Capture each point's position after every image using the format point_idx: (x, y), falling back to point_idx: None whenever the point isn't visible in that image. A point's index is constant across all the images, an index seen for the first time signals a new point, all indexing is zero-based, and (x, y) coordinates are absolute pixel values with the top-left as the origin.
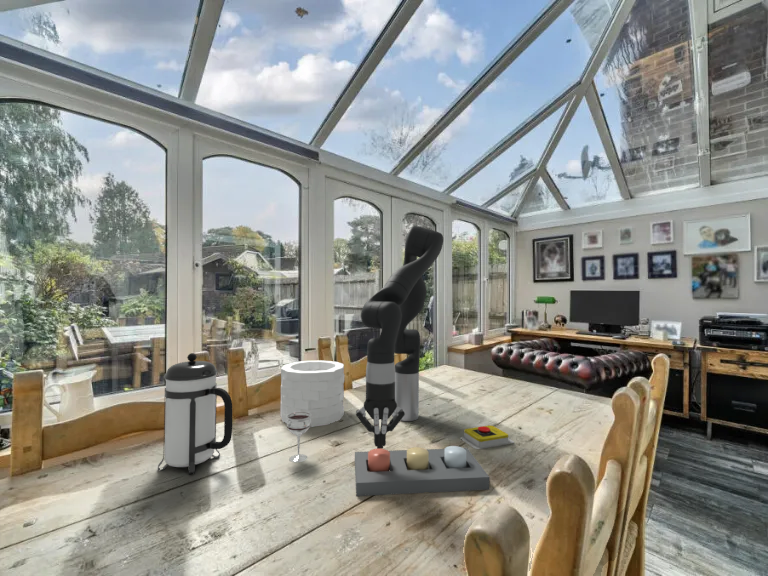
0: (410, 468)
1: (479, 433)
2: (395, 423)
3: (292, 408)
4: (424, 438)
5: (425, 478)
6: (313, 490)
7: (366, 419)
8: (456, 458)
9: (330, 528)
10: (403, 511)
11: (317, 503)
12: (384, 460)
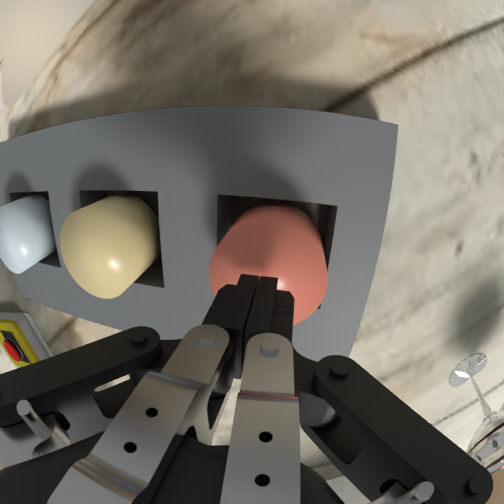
0: (146, 212)
1: (19, 347)
2: (79, 359)
3: None
4: None
5: (107, 124)
6: (492, 203)
7: (363, 465)
8: (11, 204)
9: (448, 11)
10: (226, 20)
11: (488, 129)
12: (247, 221)
